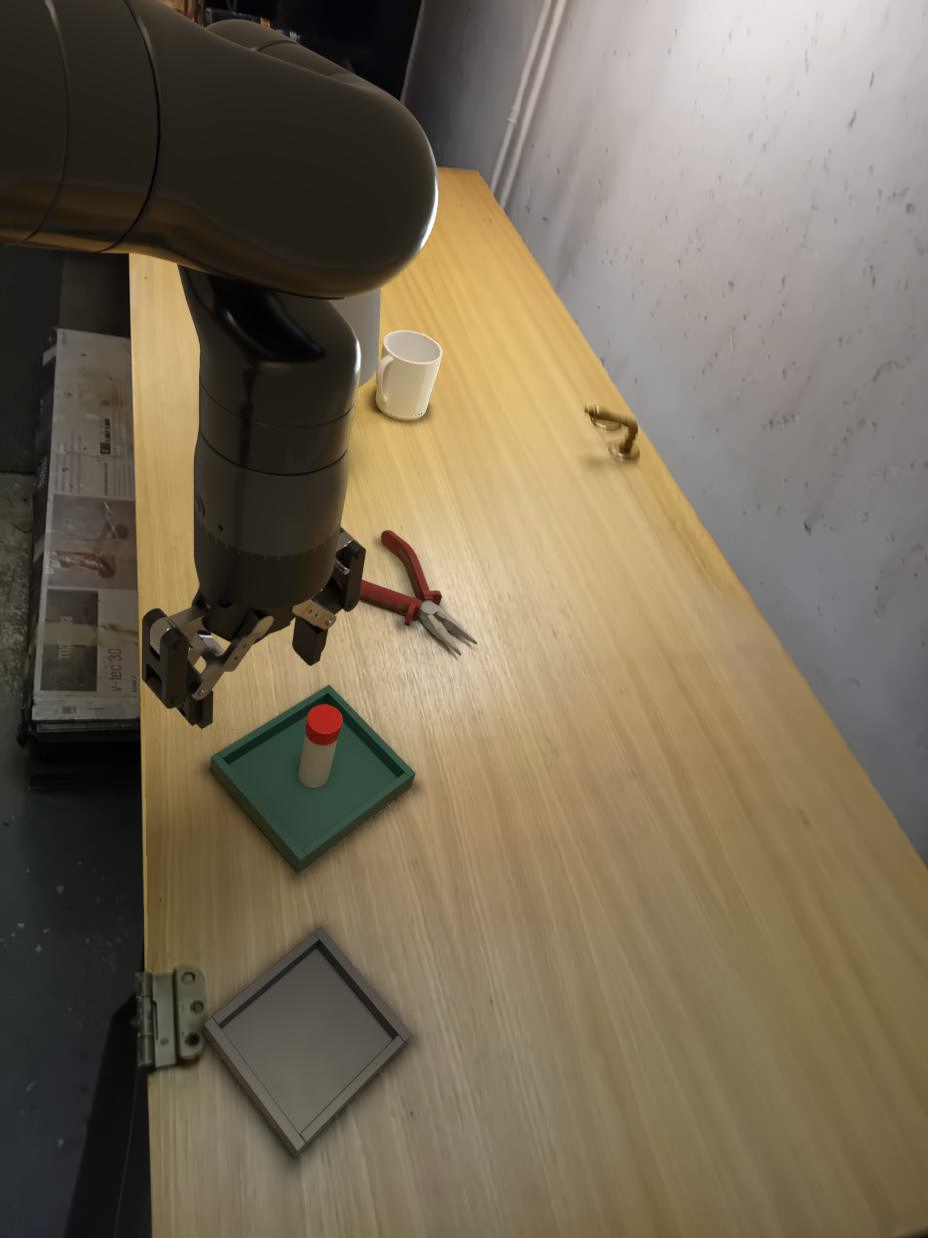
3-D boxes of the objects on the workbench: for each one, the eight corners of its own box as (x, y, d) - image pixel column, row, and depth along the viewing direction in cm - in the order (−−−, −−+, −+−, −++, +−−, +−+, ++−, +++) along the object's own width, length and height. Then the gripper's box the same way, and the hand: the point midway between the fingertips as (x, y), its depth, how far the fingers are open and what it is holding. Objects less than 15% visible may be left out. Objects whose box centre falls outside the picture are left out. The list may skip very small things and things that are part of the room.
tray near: (294, 1158, 61) (297, 1152, 59) (203, 1033, 65) (203, 1024, 63) (406, 1043, 68) (412, 1035, 66) (317, 937, 72) (320, 926, 70)
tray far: (297, 873, 75) (300, 861, 73) (210, 770, 80) (210, 756, 78) (411, 786, 84) (416, 773, 82) (326, 698, 89) (329, 684, 87)
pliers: (433, 678, 94) (438, 664, 92) (319, 572, 100) (322, 557, 98) (497, 634, 101) (503, 620, 99) (387, 538, 107) (390, 523, 105)
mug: (402, 382, 132) (414, 324, 124) (440, 413, 129) (455, 355, 121) (350, 401, 125) (360, 340, 118) (389, 433, 122) (401, 373, 115)
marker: (311, 795, 80) (322, 739, 73) (290, 772, 81) (299, 715, 74) (336, 777, 82) (349, 721, 75) (316, 755, 83) (327, 698, 76)
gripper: (191, 602, 37) (192, 784, 48) (417, 495, 45) (372, 672, 57) (99, 504, 39) (122, 699, 51) (330, 420, 48) (304, 604, 59)
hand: (254, 685), depth 54 cm, fingers open, 8 cm apart
